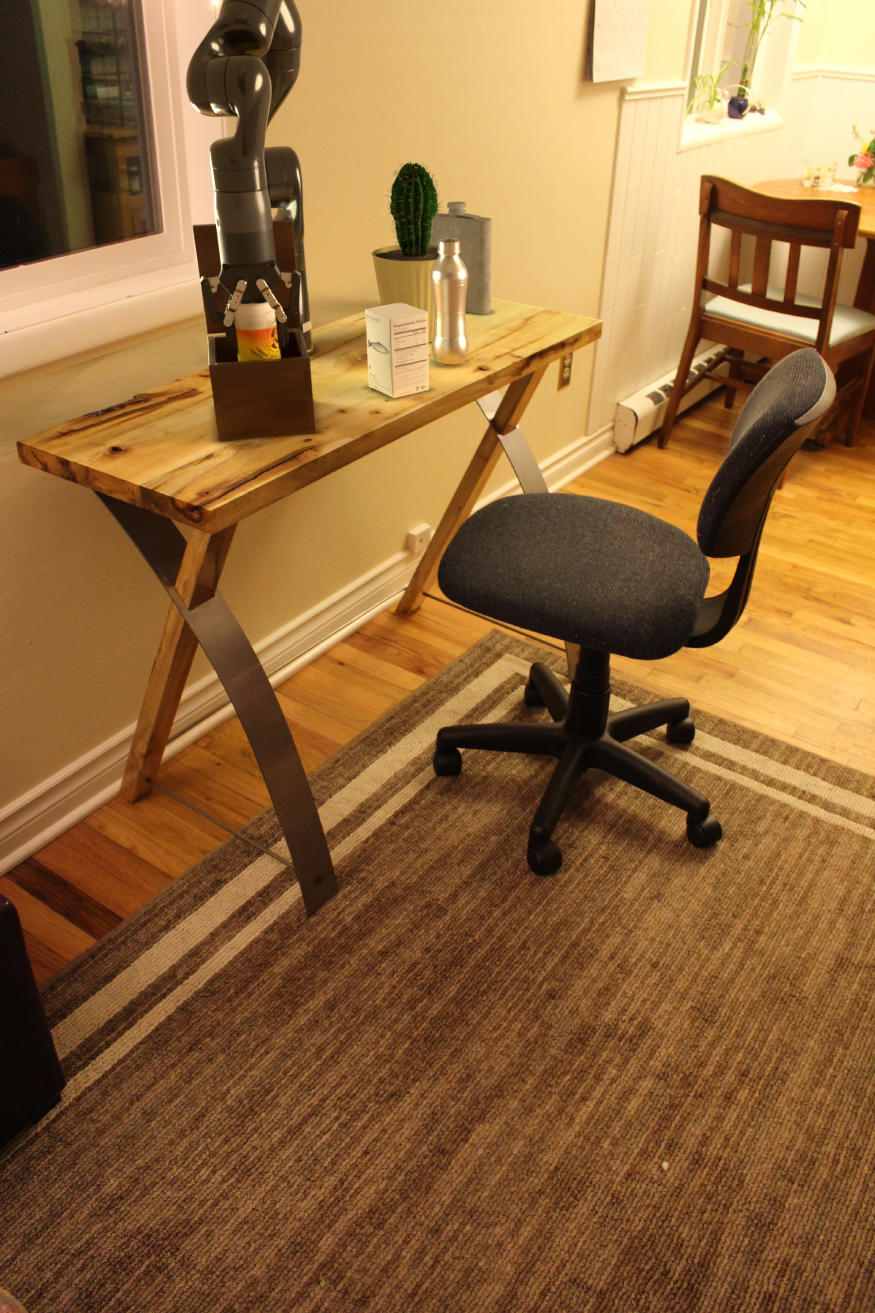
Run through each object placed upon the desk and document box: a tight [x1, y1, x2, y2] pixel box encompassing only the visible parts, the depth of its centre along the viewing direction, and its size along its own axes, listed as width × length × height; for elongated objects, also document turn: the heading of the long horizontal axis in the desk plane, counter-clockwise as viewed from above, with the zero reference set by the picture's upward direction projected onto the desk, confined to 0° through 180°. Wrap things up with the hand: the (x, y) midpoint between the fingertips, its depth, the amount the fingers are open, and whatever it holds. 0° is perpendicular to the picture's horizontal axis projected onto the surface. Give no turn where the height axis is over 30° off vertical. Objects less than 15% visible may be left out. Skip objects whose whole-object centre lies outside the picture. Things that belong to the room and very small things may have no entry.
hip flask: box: [429, 201, 492, 316], centre depth 203 cm, size 16×4×20 cm, turn 58°
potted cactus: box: [371, 159, 444, 343], centre depth 184 cm, size 15×15×30 cm
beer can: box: [233, 301, 281, 361], centre depth 147 cm, size 6×6×15 cm
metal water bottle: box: [430, 238, 470, 365], centre depth 172 cm, size 6×7×20 cm
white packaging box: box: [364, 303, 430, 399], centre depth 163 cm, size 7×7×13 cm
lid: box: [191, 220, 301, 335], centre depth 151 cm, size 16×14×6 cm
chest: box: [207, 330, 317, 442], centre depth 152 cm, size 15×14×11 cm
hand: (258, 348), depth 147 cm, fingers closed on beer can, 6 cm apart
